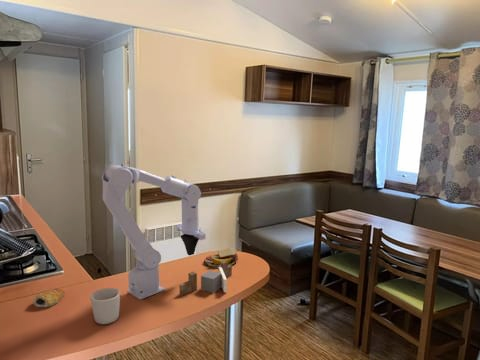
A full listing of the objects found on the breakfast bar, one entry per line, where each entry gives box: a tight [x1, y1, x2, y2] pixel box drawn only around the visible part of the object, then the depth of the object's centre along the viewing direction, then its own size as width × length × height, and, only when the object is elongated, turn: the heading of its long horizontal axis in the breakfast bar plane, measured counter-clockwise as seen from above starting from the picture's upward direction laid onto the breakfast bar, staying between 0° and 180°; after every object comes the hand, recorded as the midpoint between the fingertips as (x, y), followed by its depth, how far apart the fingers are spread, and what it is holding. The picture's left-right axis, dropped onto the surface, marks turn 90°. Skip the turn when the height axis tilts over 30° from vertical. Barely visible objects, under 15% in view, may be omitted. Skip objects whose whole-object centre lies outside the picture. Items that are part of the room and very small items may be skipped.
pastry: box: [32, 287, 65, 308], centre depth 118 cm, size 9×7×4 cm
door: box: [218, 265, 228, 293], centre depth 128 cm, size 11×1×5 cm, turn 13°
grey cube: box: [200, 270, 222, 294], centre depth 126 cm, size 5×5×5 cm
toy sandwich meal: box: [204, 247, 239, 269], centre depth 149 cm, size 12×14×5 cm
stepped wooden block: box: [179, 260, 233, 296], centre depth 129 cm, size 22×2×6 cm, turn 135°
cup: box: [90, 287, 121, 325], centre depth 108 cm, size 11×8×8 cm
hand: (190, 254), depth 132 cm, fingers closed
